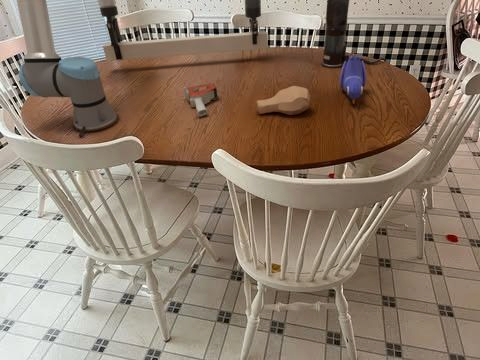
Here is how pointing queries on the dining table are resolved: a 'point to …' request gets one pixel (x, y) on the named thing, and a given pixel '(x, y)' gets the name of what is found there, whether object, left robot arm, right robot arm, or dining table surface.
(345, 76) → the toy
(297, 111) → the squash
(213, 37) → the post
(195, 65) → the dining table surface
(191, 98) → the tape dispenser
